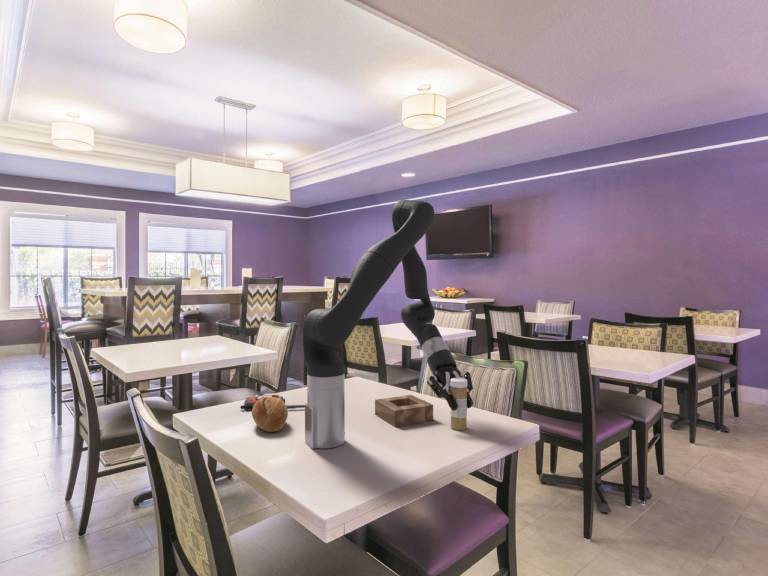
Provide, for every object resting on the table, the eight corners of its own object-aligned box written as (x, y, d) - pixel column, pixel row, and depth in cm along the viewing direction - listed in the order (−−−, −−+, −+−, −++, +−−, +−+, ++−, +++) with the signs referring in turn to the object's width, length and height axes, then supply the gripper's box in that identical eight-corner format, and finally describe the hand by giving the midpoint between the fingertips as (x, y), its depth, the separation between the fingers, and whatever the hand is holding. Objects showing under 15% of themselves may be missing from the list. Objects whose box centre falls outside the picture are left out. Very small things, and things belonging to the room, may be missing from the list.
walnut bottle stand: (394, 426, 123) (394, 410, 123) (375, 414, 134) (374, 399, 134) (433, 420, 128) (433, 404, 128) (411, 409, 140) (411, 394, 139)
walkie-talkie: (238, 414, 136) (304, 411, 138) (238, 399, 136) (304, 397, 138) (244, 406, 145) (306, 403, 147) (244, 392, 145) (306, 390, 147)
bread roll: (254, 437, 115) (254, 407, 114) (249, 420, 129) (249, 393, 128) (291, 433, 118) (291, 403, 118) (283, 417, 132) (283, 390, 132)
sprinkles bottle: (448, 425, 124) (448, 377, 123) (464, 424, 124) (464, 377, 124) (452, 431, 119) (452, 381, 119) (469, 430, 120) (469, 380, 119)
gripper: (422, 350, 125) (446, 403, 114) (463, 346, 131) (490, 397, 121) (412, 365, 130) (435, 418, 119) (453, 361, 136) (478, 411, 125)
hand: (463, 407), depth 120 cm, fingers closed on sprinkles bottle, 4 cm apart
